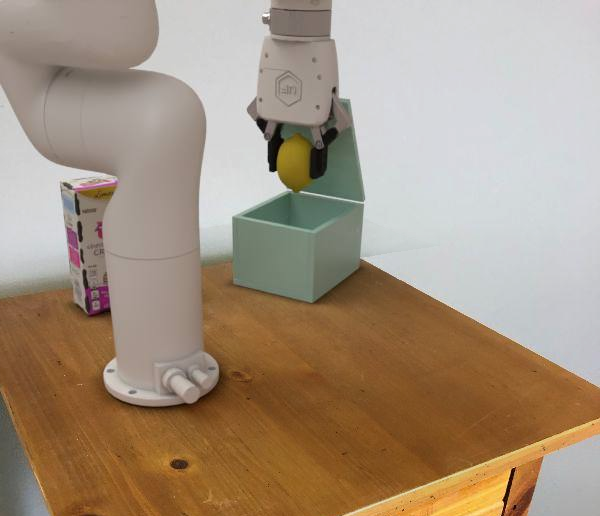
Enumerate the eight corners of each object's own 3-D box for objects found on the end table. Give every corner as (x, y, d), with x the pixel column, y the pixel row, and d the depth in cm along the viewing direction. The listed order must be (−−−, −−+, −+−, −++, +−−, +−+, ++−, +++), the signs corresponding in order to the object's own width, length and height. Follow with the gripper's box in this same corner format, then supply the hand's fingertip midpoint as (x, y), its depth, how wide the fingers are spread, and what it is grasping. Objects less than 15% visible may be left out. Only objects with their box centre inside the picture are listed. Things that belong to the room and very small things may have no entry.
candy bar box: (89, 317, 96) (73, 190, 88) (73, 304, 100) (56, 180, 91) (166, 298, 102) (158, 177, 94) (149, 286, 106) (139, 168, 97)
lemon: (286, 185, 106) (287, 127, 102) (322, 191, 105) (325, 131, 100) (269, 195, 102) (270, 134, 98) (306, 201, 100) (309, 139, 96)
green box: (312, 303, 102) (315, 233, 97) (233, 284, 107) (231, 216, 102) (359, 267, 114) (364, 203, 109) (286, 252, 119) (287, 190, 114)
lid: (347, 102, 96) (363, 78, 98) (261, 92, 100) (278, 69, 103) (363, 202, 109) (376, 179, 111) (286, 188, 114) (300, 167, 116)
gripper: (225, 22, 93) (228, 170, 102) (351, 33, 86) (341, 189, 96) (256, 19, 99) (256, 159, 108) (376, 28, 92) (365, 177, 101)
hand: (296, 172), depth 102 cm, fingers closed on lemon, 5 cm apart
